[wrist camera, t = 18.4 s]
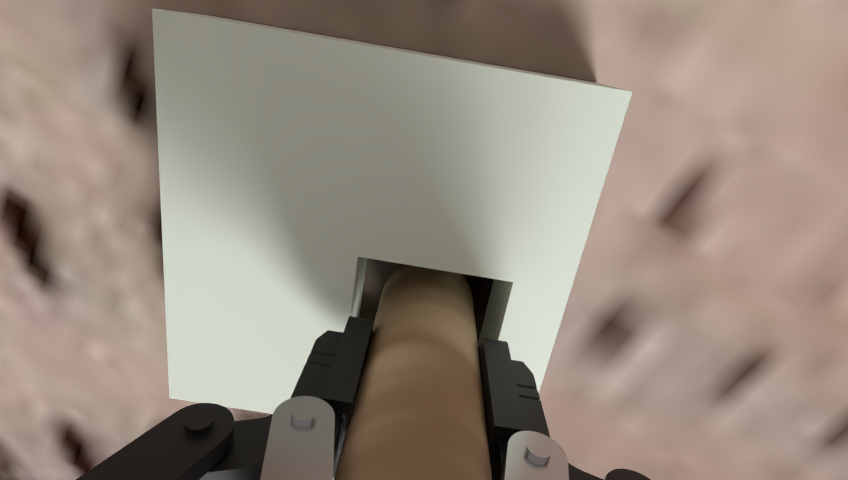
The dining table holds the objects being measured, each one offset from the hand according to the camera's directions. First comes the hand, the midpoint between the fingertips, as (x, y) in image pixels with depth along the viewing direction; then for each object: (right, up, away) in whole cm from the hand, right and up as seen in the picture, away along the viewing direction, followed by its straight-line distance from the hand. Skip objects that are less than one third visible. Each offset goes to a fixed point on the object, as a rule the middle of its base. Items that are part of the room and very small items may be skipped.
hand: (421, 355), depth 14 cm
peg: (0, +1, +3) cm, 3 cm away
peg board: (-2, +4, +3) cm, 5 cm away
